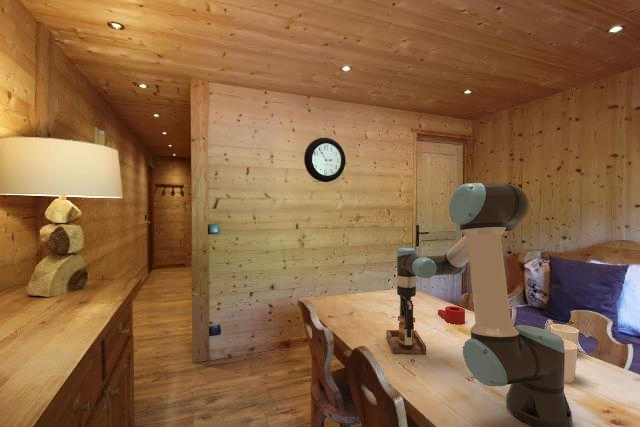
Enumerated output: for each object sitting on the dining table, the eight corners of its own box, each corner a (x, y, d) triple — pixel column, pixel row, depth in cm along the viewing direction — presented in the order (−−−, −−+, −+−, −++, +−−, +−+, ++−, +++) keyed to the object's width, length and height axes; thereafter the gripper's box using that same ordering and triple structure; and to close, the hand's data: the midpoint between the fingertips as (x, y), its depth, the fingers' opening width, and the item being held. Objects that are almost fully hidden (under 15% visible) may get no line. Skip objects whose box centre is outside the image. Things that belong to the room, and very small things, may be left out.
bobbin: (417, 345, 128) (417, 321, 128) (399, 345, 128) (399, 320, 128) (412, 338, 135) (412, 315, 135) (396, 338, 135) (396, 315, 135)
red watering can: (469, 324, 159) (469, 311, 159) (452, 325, 157) (452, 312, 157) (446, 312, 177) (446, 301, 177) (431, 314, 175) (431, 302, 175)
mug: (566, 360, 121) (567, 333, 121) (544, 350, 130) (544, 325, 129) (588, 357, 124) (588, 330, 124) (565, 347, 132) (565, 322, 132)
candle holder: (542, 367, 116) (543, 334, 115) (577, 376, 109) (577, 342, 109) (540, 378, 108) (540, 343, 108) (577, 389, 102) (577, 352, 102)
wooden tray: (426, 354, 126) (426, 346, 126) (392, 354, 126) (392, 345, 126) (415, 338, 142) (415, 330, 142) (386, 337, 142) (386, 329, 142)
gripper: (422, 291, 121) (421, 351, 122) (410, 280, 141) (409, 331, 142) (402, 291, 122) (402, 351, 122) (392, 280, 142) (392, 331, 142)
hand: (406, 340), depth 132 cm, fingers closed on bobbin, 7 cm apart
